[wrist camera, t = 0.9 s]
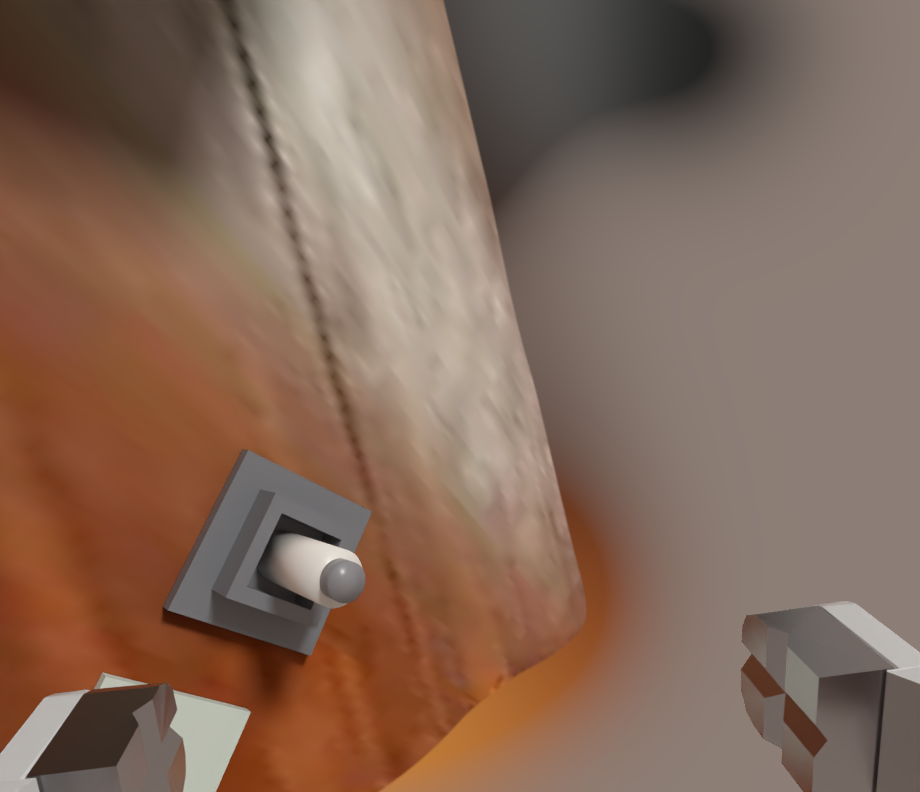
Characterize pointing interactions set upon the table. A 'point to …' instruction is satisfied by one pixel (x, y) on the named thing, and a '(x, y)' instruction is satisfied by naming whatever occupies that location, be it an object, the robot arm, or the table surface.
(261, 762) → the table surface
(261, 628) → the socket block
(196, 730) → the sage mat
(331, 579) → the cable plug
